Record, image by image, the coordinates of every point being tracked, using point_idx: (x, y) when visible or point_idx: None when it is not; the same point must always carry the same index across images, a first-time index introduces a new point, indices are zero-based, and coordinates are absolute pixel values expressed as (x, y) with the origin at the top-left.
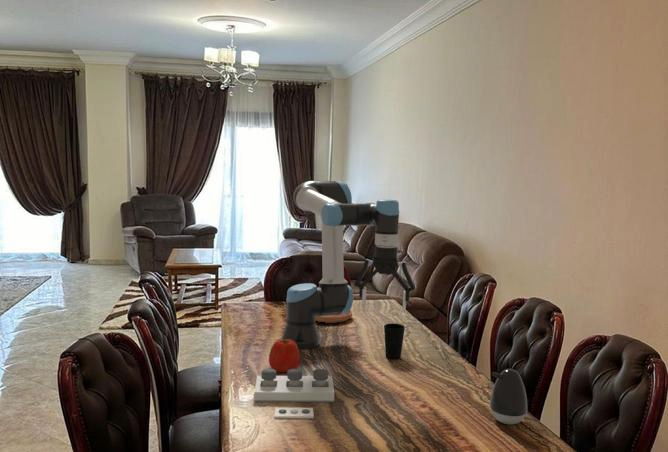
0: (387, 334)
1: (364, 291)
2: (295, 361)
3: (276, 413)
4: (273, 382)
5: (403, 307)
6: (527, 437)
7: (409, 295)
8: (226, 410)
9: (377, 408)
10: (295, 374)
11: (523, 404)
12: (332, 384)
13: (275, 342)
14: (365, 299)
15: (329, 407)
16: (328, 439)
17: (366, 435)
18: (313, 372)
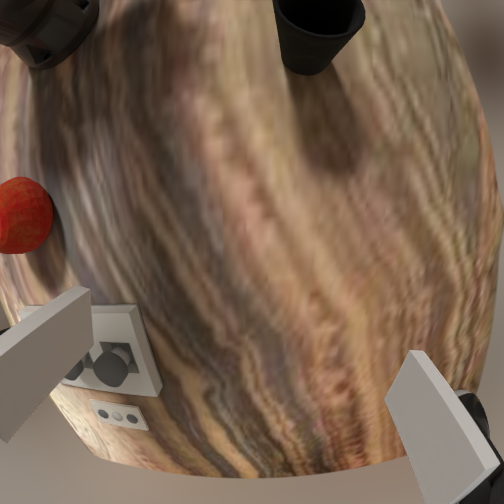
0: (287, 36)
1: (17, 428)
2: (39, 240)
3: (98, 416)
4: None
5: (398, 419)
6: None
7: (490, 442)
8: None
9: (248, 405)
10: (72, 379)
11: None
12: (143, 361)
13: None
14: (54, 335)
15: (161, 401)
16: (185, 466)
17: (232, 464)
18: (95, 373)
